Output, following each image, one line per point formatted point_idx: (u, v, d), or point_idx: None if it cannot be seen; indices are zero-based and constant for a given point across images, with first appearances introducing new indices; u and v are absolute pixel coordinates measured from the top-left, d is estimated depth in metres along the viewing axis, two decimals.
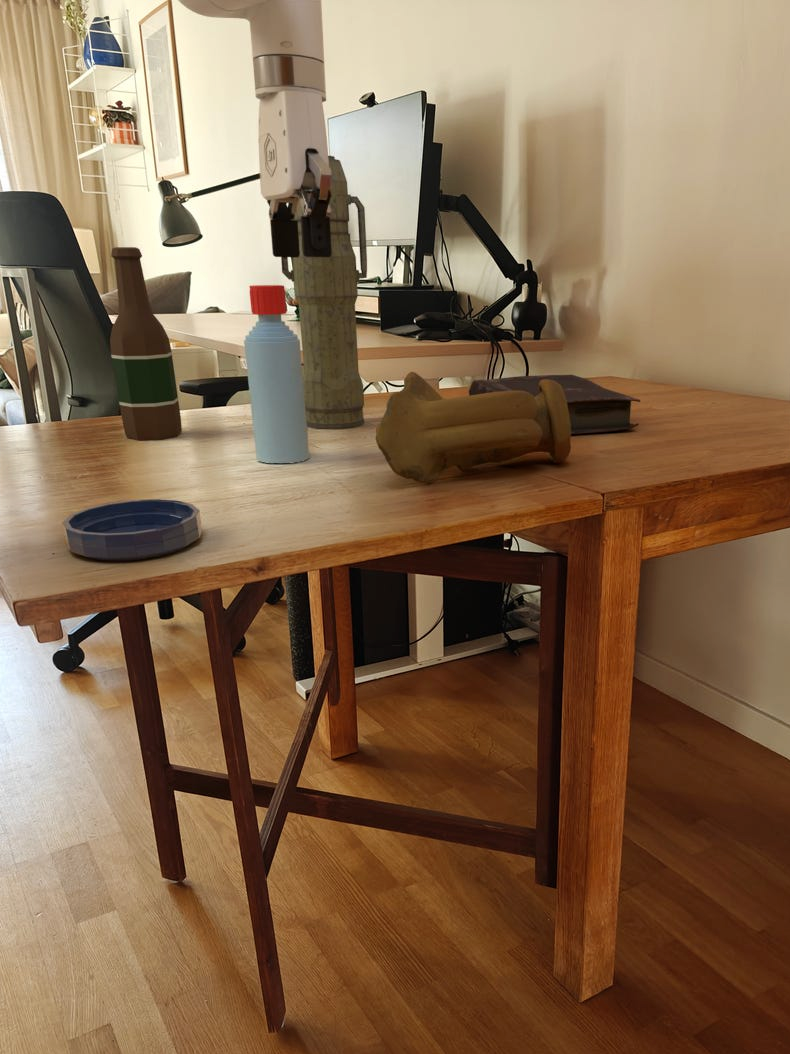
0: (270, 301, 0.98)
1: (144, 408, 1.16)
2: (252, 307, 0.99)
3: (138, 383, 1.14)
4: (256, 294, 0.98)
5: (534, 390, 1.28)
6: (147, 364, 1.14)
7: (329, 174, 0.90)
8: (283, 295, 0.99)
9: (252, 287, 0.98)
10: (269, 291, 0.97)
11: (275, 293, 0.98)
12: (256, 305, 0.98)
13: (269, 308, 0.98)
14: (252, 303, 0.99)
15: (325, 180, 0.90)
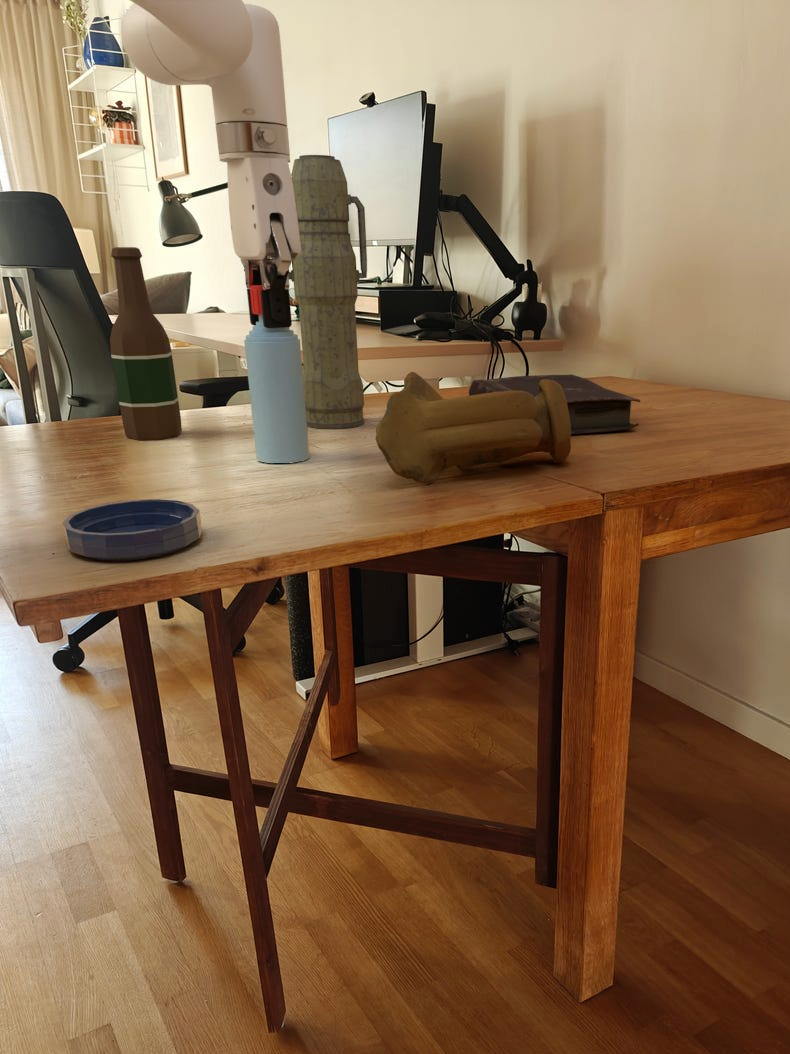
0: None
1: (144, 408, 1.16)
2: (252, 307, 0.99)
3: (138, 383, 1.14)
4: (257, 293, 0.98)
5: (534, 390, 1.28)
6: (147, 364, 1.14)
7: None
8: None
9: (252, 287, 0.98)
10: None
11: None
12: (256, 305, 0.98)
13: None
14: (252, 303, 0.99)
15: None
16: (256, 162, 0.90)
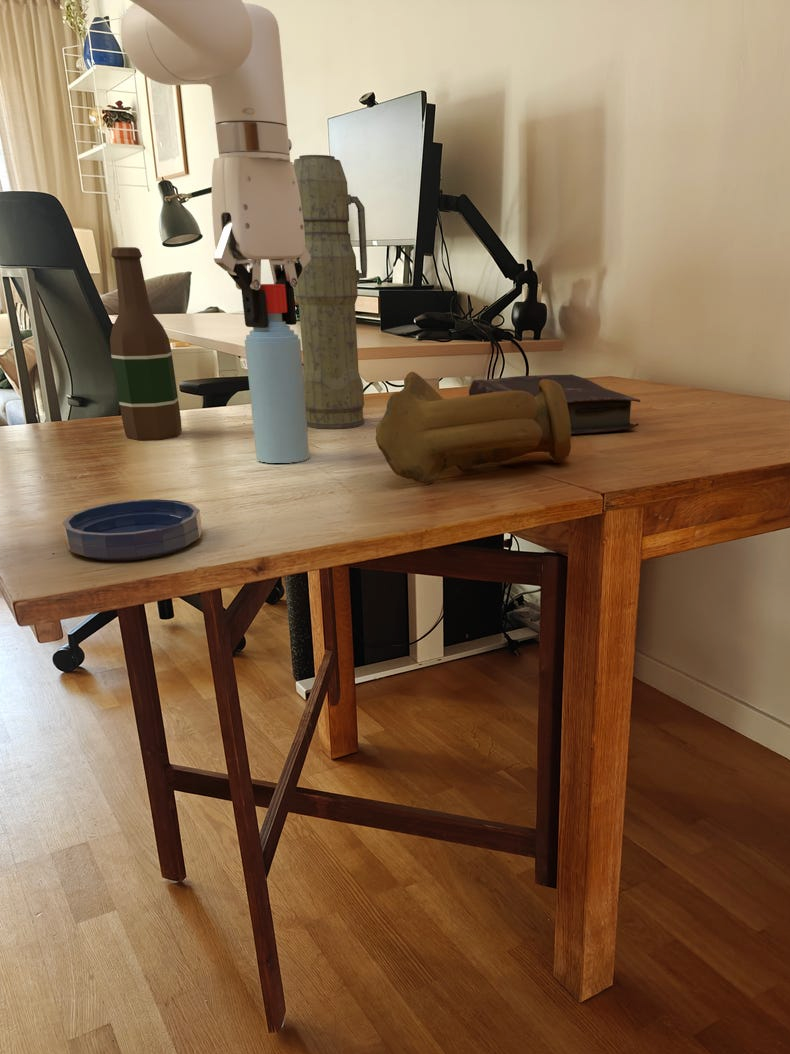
0: None
1: (144, 408, 1.16)
2: (281, 306, 0.99)
3: (138, 383, 1.14)
4: (285, 292, 0.99)
5: (534, 390, 1.28)
6: (147, 364, 1.14)
7: (221, 262, 0.93)
8: None
9: (282, 286, 0.98)
10: None
11: None
12: (284, 303, 0.99)
13: None
14: (281, 302, 0.99)
15: (223, 266, 0.93)
16: None
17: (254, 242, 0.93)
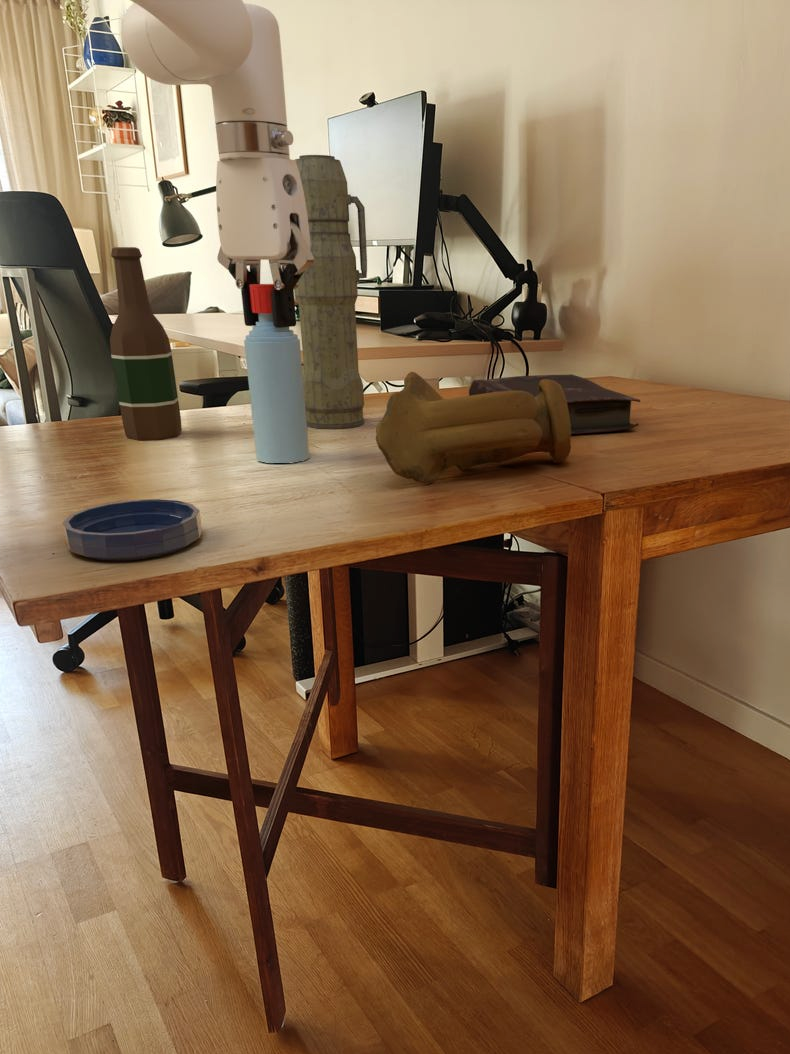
0: None
1: (144, 408, 1.16)
2: None
3: (138, 383, 1.14)
4: None
5: (534, 390, 1.28)
6: (147, 364, 1.14)
7: None
8: None
9: None
10: None
11: None
12: None
13: None
14: None
15: None
16: (275, 163, 0.91)
17: (227, 242, 0.97)
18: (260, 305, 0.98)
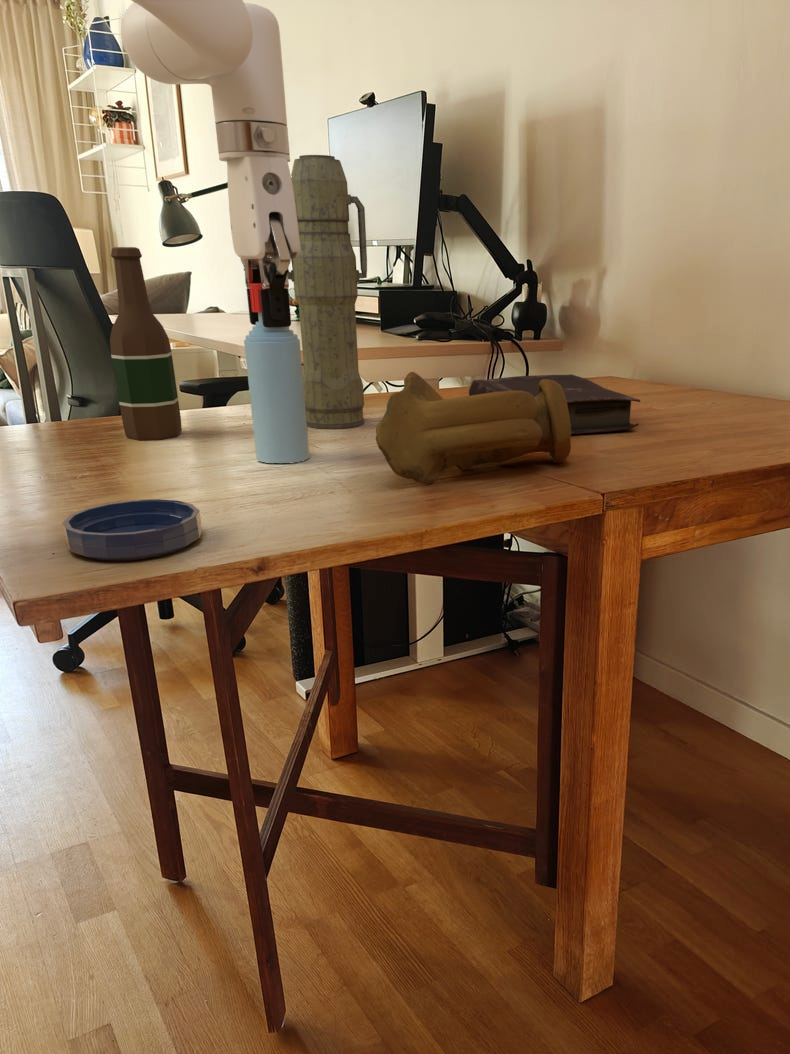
0: None
1: (144, 408, 1.16)
2: None
3: (138, 383, 1.14)
4: None
5: (534, 390, 1.28)
6: (147, 364, 1.14)
7: None
8: (252, 293, 0.98)
9: None
10: None
11: None
12: None
13: None
14: None
15: None
16: (255, 161, 0.90)
17: (235, 242, 0.99)
18: None
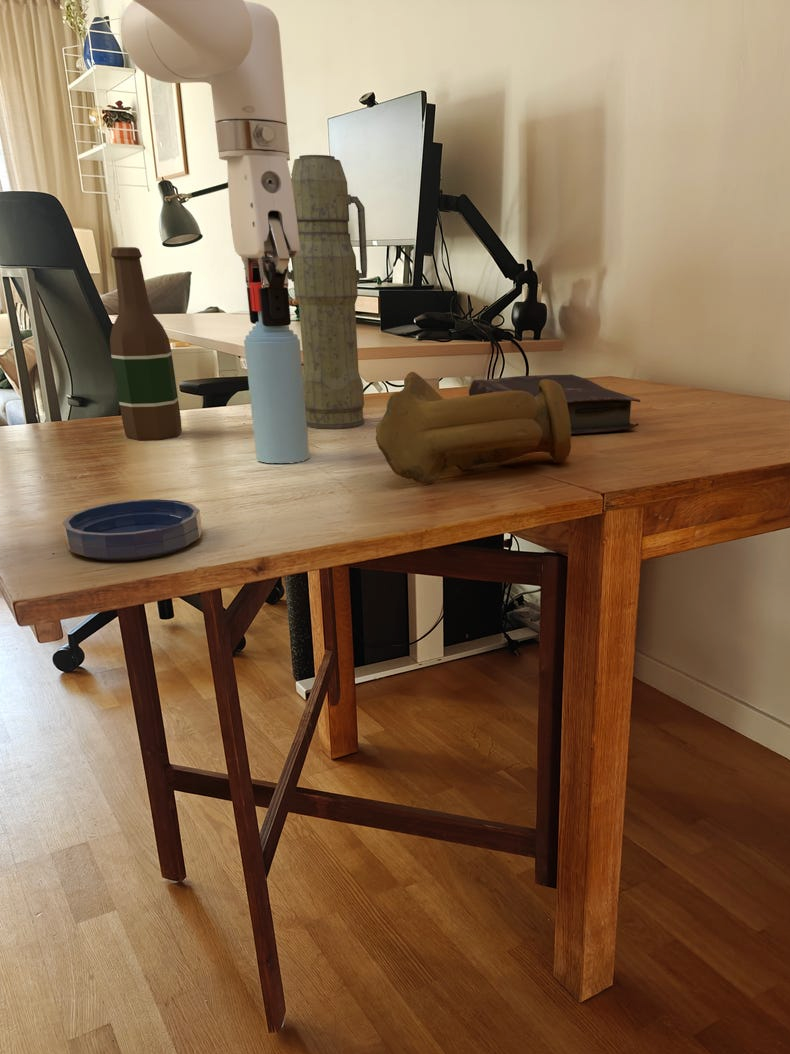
0: None
1: (144, 408, 1.16)
2: (251, 304, 0.99)
3: (138, 383, 1.14)
4: (253, 290, 0.98)
5: (534, 390, 1.28)
6: (147, 364, 1.14)
7: (243, 260, 1.03)
8: None
9: (250, 284, 0.98)
10: None
11: None
12: (253, 301, 0.98)
13: None
14: (251, 300, 0.99)
15: None
16: (255, 160, 0.90)
17: (235, 241, 0.99)
18: None
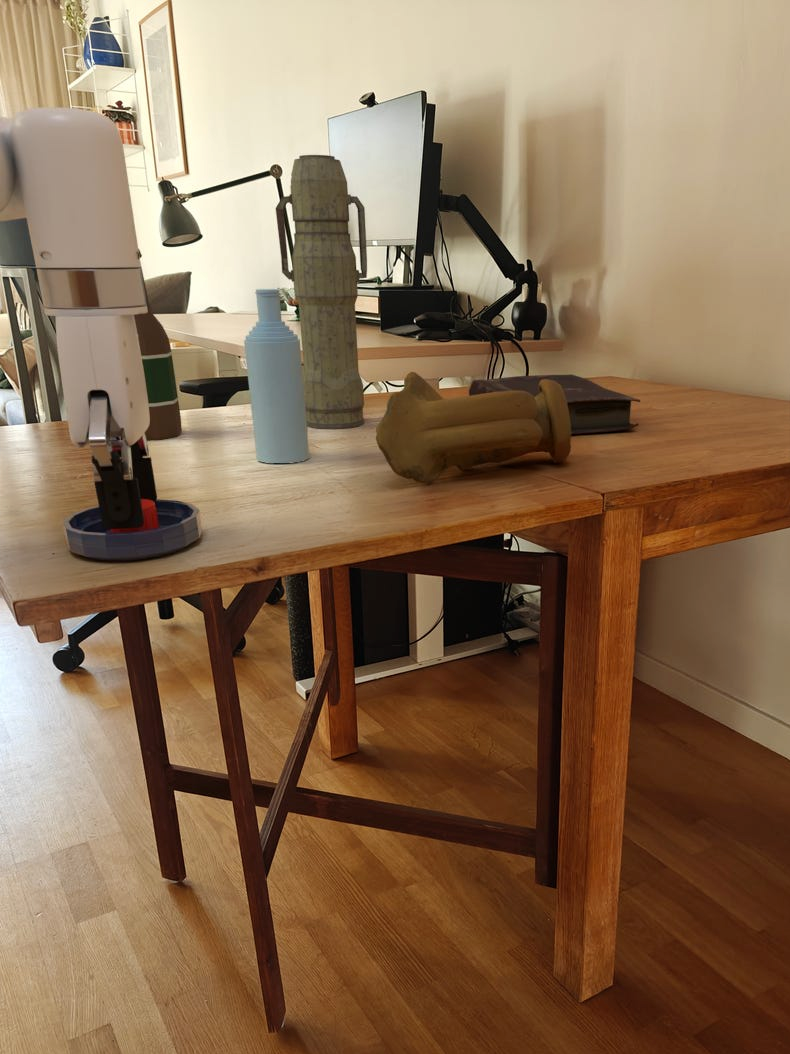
0: None
1: None
2: None
3: None
4: (155, 510, 0.76)
5: (534, 390, 1.28)
6: (147, 364, 1.14)
7: (103, 445, 0.65)
8: None
9: (154, 504, 0.75)
10: None
11: None
12: (157, 524, 0.76)
13: None
14: (156, 525, 0.75)
15: (100, 451, 0.65)
16: None
17: (136, 423, 0.69)
18: None
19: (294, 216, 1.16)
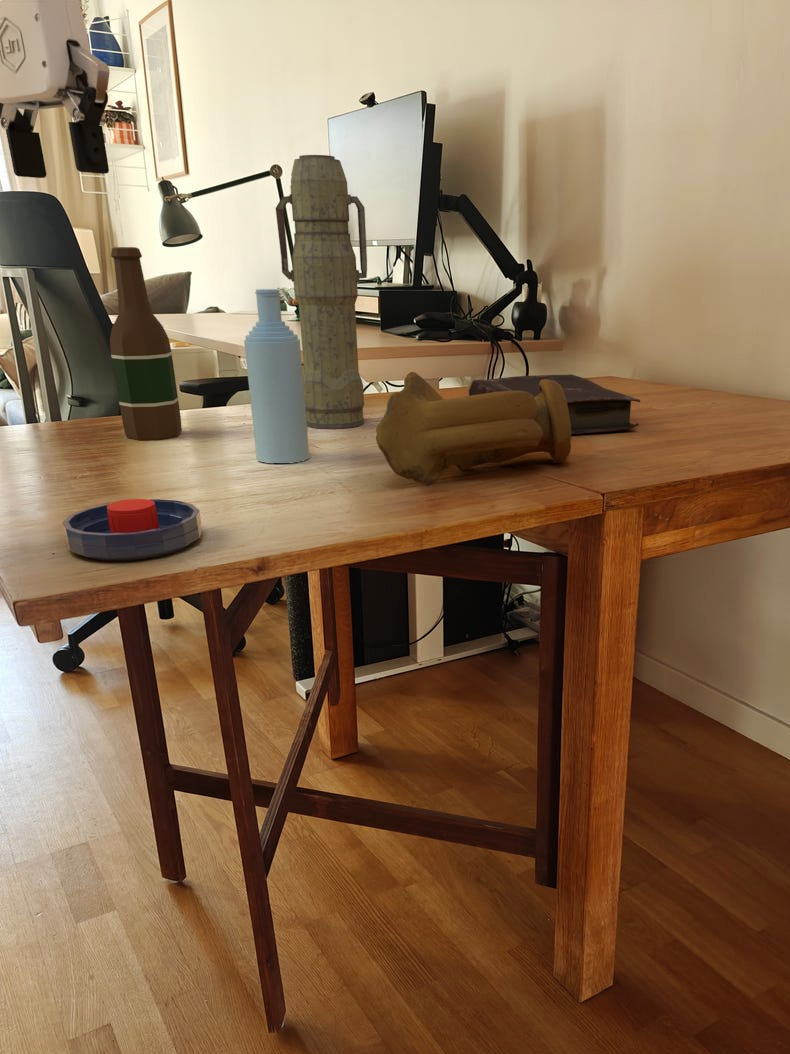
0: None
1: (144, 408, 1.16)
2: None
3: (138, 383, 1.14)
4: (155, 510, 0.76)
5: (534, 390, 1.28)
6: (147, 364, 1.14)
7: (107, 71, 0.77)
8: None
9: (154, 504, 0.75)
10: None
11: None
12: (157, 524, 0.76)
13: None
14: (156, 525, 0.75)
15: (102, 78, 0.77)
16: None
17: None
18: None
19: (294, 216, 1.16)
